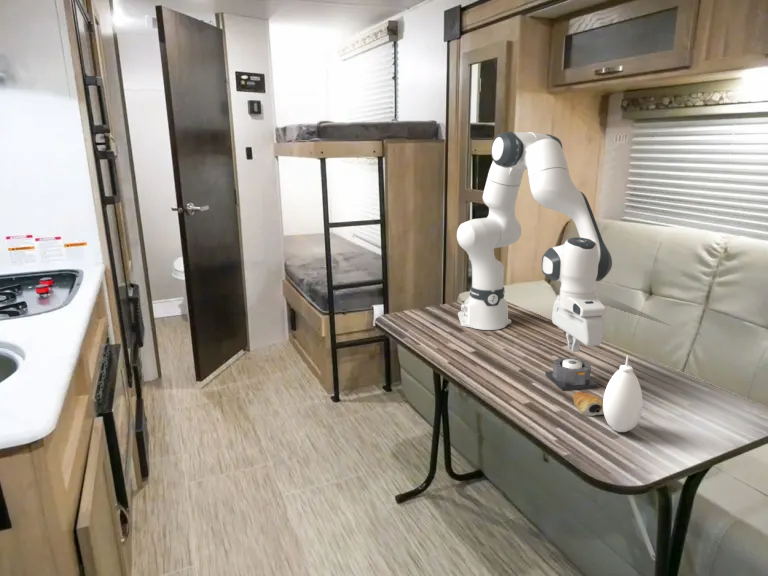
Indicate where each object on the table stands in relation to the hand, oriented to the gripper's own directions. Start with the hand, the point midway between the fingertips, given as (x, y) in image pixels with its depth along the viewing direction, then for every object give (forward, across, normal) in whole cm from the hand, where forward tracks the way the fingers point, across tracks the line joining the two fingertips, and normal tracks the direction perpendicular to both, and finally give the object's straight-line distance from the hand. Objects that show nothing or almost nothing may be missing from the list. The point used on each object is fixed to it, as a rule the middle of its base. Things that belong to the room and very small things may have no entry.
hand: (573, 350), depth 140 cm
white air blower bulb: (+9, +26, -2) cm, 28 cm away
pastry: (+10, +15, -4) cm, 18 cm away
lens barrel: (+9, 0, 0) cm, 9 cm away
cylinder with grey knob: (+8, 0, 0) cm, 8 cm away
